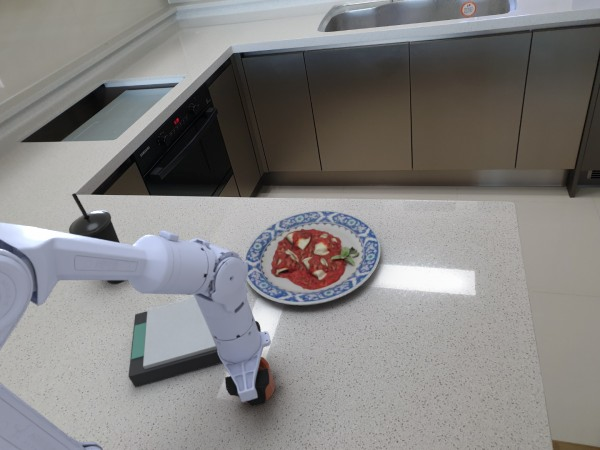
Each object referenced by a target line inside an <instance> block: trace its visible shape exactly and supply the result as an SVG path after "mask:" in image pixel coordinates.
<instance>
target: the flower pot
mask: <svg viewBox="0 0 600 450" xmlns="http://www.w3.org/2000/svg"><path fill="white" fill-rule="evenodd" d="M266 368H268V372H269V384H268V386H267V387H266V391H265V392H266V402H267V401H268V400H270V398H271V397H272V395H273V394H274V392H275V389H276V381H275V378H274V375H273V372H272V369H271V366H270V363H269V361H268V360H267V359H266V358H265V357H263V356H261V359H260V363H259V367H258V371H259V370H262V369H266ZM243 403H245V404H247V405H249V404H248V403H247V402H246V401H245V402H243Z"/></svg>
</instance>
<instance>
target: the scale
mask: <svg viewBox="0 0 600 450" xmlns="http://www.w3.org/2000/svg"><path fill="white" fill-rule="evenodd" d="M219 364H223V363H222V361H221V360H220V358H219V355H218V352H217V347H216V345H215V342H214V340H213V338H212V335H211V333H210V331H209V329H208V326H207V324H206V322H205V319H204V317H203V315H202V313H201V310H200V308H199V306H198V303H197V301H196V299H195V296H192V297H189V298H185V299H181V300H177V301H174V302H173V301H172V302H170V303H166V304H163V305H158V306H155V307H152V308H148V309H147V310H146V311H142V312H139V313H135V314H134V320H133V331H132V339H131V350H130V359H129V367H128V368H129V369H128V377H127V378H128V379H129V380H130V381H131V384H133V386H134V387H135V388H137V387H142V386H144V385H148V384H152V383H155V382H158V381H162V380H166V379H169V378H172V377H176V376H181V375H184V374H187V373H191V372H195V371H198V370H201V369H206V368H208V367H212V366H215V365H219Z"/></svg>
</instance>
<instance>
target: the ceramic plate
mask: <svg viewBox="0 0 600 450" xmlns="http://www.w3.org/2000/svg"><path fill="white" fill-rule="evenodd" d="M380 258H381V244H380V240H379V237H378V235H377V233H376V232H375V231H374V229H373V228H372V227H371V226H370V225H369V224H368V223H366V222H365V221H363V220H362V219H360V218H358V217H357V216H354V215H352V214H348V213H344V212H339V211H332V210H312V211H306V212H300V213H295V214H292V215H290V216H287V217H285V218H282V219H280V220H278V221H276V222H274V223H272V224H271V225H269V226H267V227H266V228H265V229H262V231H261V232H259V234H257V235H256V236H255V238H253V240H252V241H251V242H250V244H249V245H248V247H247V248H246V251H245V253H244V257H243V259H242V260H243V261H244V262H245V261H247V264H248V274H247V279H246V282H247V283H248V284H249V286H250V288H251V289H253V290H254V291H255V292H256V293H257V294H258V295H260V296H262V297H264V298H265V299H268V300H271V301H273V302H275V303H279V304H284V305H290V306H291V305H292V306H312V305H319V304H323V303H328V302H332V301H334V300H338V299H339V298H342V297H344V296H346V295H348V294H350V293H352V292H353V291H355V290H357V289H358V288H359V287H361V286H362V285H363V284H364V283H366V281H368V279H370V277H371V276H372V274H373V273H374V272H375V271H376V268H377V267H378V265H379V262H380Z"/></svg>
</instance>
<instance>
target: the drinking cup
mask: <svg viewBox="0 0 600 450" xmlns="http://www.w3.org/2000/svg"><path fill="white" fill-rule="evenodd" d="M71 196H72V199H73V200H74V202H75V203H76V205H77V207H78V209H79V210H80V213H81V214H82V215H80V216H79V217H78V218H77V219H75V220H74V221H73V222H72V223H71V224H70V225H69V228H68V233H69V234H74V235H80V236H85V237H91V238H96V239H102V240H107V241H112V242H118V243H121V242H120V239H119V237H118V234H117V232H116V229H115V227H114V225H113V222H112V214H110V212H108V211H107V210H102V209H101V210H99V209H98V210H93V211H90V212H87V210H85V208H84V205H83V204H82V202H81V200H80V199H79V197H78V195H77V193H76V192H74V193H72V194H71ZM124 281H125V280H106V282H108V283H109V284H111V285H116V284H120V283H123V282H124Z"/></svg>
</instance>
